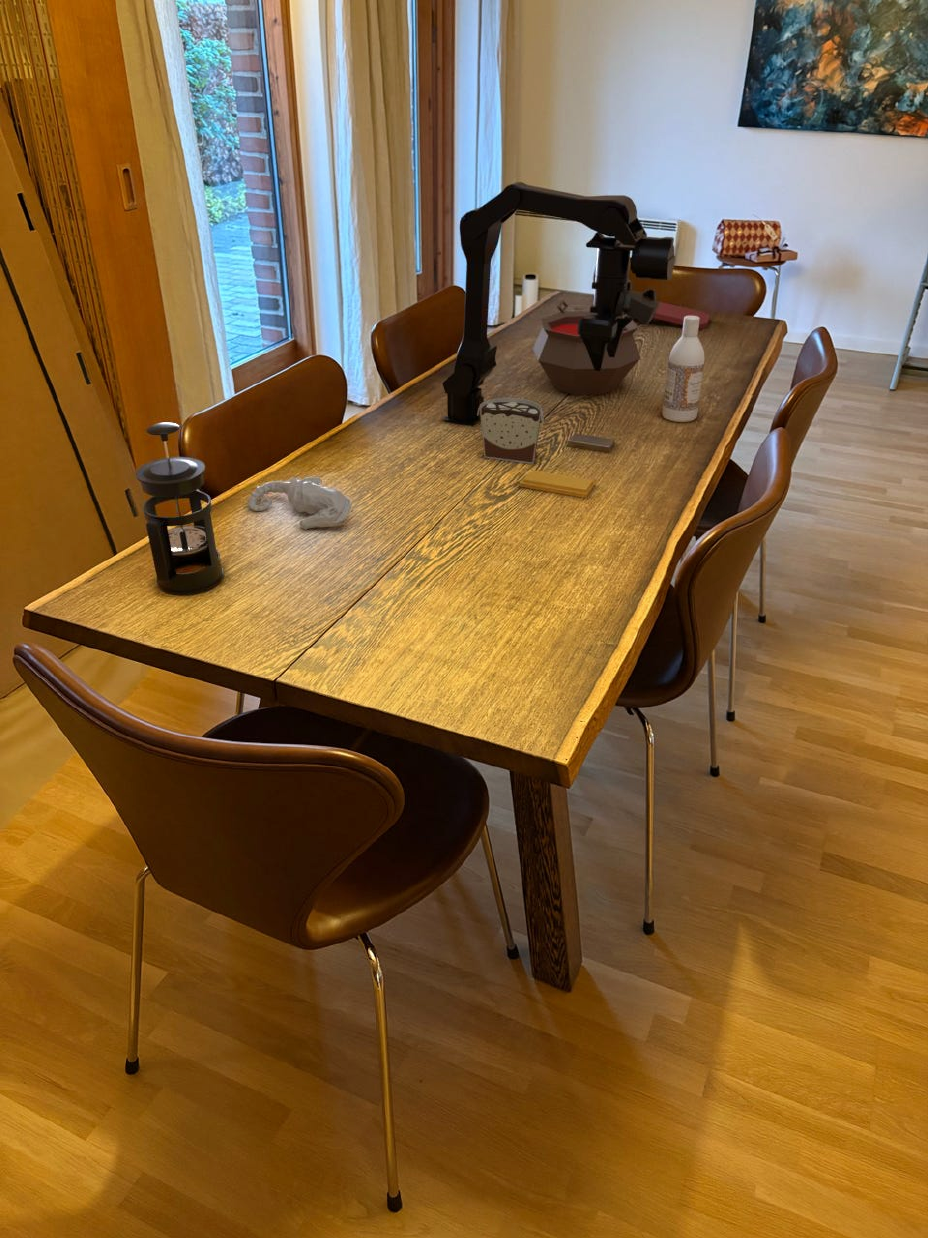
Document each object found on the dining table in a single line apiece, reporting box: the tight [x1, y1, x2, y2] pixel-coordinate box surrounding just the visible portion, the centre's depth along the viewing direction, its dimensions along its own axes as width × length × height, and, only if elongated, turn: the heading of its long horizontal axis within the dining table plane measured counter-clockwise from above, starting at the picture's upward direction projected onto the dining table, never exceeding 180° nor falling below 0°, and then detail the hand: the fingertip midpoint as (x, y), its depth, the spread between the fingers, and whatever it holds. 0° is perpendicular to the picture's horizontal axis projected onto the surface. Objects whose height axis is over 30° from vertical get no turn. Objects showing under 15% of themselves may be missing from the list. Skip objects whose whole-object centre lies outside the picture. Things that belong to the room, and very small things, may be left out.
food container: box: [477, 397, 545, 465], centre depth 168 cm, size 12×6×10 cm, turn 71°
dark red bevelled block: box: [652, 301, 711, 330], centre depth 250 cm, size 12×5×25 cm
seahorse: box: [247, 476, 353, 531], centre depth 148 cm, size 5×12×20 cm
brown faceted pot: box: [532, 299, 642, 396], centre depth 200 cm, size 24×24×16 cm
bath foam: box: [661, 316, 705, 423], centre depth 182 cm, size 7×7×20 cm
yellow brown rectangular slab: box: [518, 469, 595, 499], centre depth 158 cm, size 12×5×1 cm, turn 67°
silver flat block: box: [567, 433, 616, 453], centre depth 174 cm, size 8×4×1 cm, turn 66°
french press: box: [135, 422, 225, 596], centre depth 125 cm, size 12×9×23 cm
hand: (604, 363), depth 169 cm, fingers open, 9 cm apart
